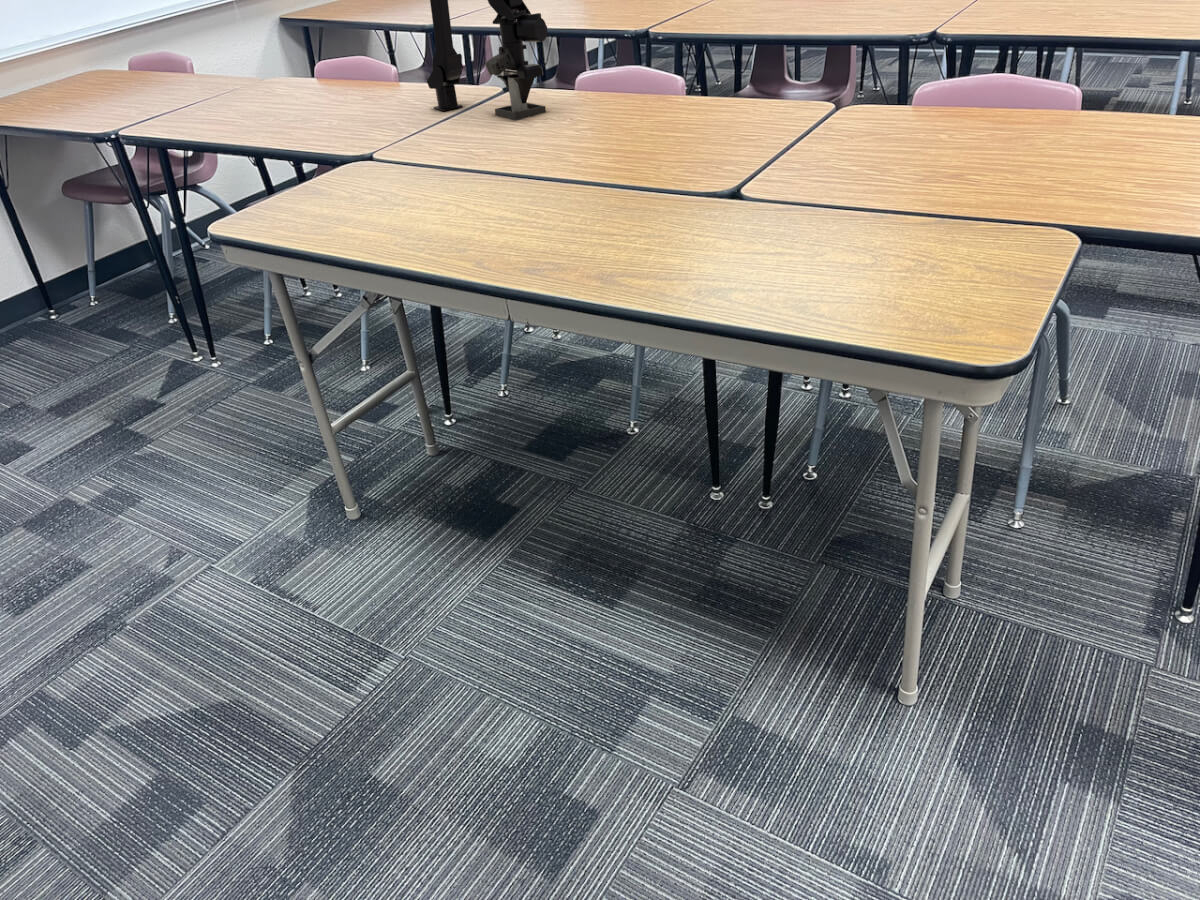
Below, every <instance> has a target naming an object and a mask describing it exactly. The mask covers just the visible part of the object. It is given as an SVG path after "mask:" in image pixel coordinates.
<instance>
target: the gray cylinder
mask: <svg viewBox="0 0 1200 900" xmlns="http://www.w3.org/2000/svg"><path fill="white" fill-rule="evenodd" d="M514 78H519V77H518V75H517V74H512V75H509V76H508V84H509V91H508V93H509V92H510V94H509V101H510V105H511V108H512V112H519V111H524V110H528V108H527V103H528V101H527V102H526V103H522V100H521V96H520V91H519V85H518V83H517V82H516V81H515V80H514Z"/></svg>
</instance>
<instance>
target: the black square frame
mask: <svg viewBox="0 0 1200 900" xmlns="http://www.w3.org/2000/svg"><path fill="white" fill-rule="evenodd" d="M527 108H528V110H524V111H519V112H512V108H511V104H510V105H507V106H501V107H496V108H494V114H495V116H497V117H500V118H504V119H507V120H510V121H520V120H523V119H527V118H530V117H534V116H537V115H540V114H545V113H546V110H547V109H546V105H542V104H536V103H532V102H527Z"/></svg>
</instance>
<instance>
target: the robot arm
mask: <svg viewBox="0 0 1200 900" xmlns="http://www.w3.org/2000/svg"><path fill="white" fill-rule="evenodd" d="M429 2H430V3H429V4H430V10H431V11H430V12H431V19H432V28H433V34H434V44H435V50H434V53H433V57H432V59H431V60H432V71H431V73H430V75H429V76H428V78H427V80H426V83H427V85H428V88H429V89H431V90H432V89H433V90H435V96H436V100H437V102H436V103H437V105H436V106H433V109H434V110H439V111H443V112H445V111H450V110H454V109H459V108H463V104H458V98H457V92H456V85H459V84H460V83H461V75H462V73H463V69H464V65H463V56H462V54H461V53H458V52H457V51H456V49H455V47H454V43H453V33H452V23H451V16H450V7H449V0H429ZM487 2H488V4H489V6H490V7H491V8H492V9H493V10H494V12H495V13H496V15H495V18H494V19H493V20H492V25H499V32H500V40H501V46H499V47H498V54H496V55H494V56H492V57H491V58H490V59H488V60H487V61H486V62H484V65H485V67H486V69H487V72H488V74H489V75H490V76H493V75H494V76H496V77H497V79H500V80H501V81H502V82H503V83H504V85H505V87H506V88H507V91H508V94H509V95H510V92H509V84H508V76H509V75H512V74H517V75H518V77H519V78H514V80H515V81H516V82H517V83H518V85H519V91H520V96H521V100H522V103H526V102H527V103H528V99H529V95H530V91H531V89H532V86H533V83H534V81H535V79H537V78H538V77H542V76H544V71H543V69H544V68H543V67H542V66H541V65H540V64H537V63H530V64H529V61H528V60H526V59H525V58H526V57H525V50H527V44H525V43H542V42H544V41H545V40H546V39H547V36H548V26H547V24H546V21H545V19H544V18H543V17H542V14H541V12H536V13H531V11H530V9H529V7H528V6H527V5H526V3H525V2H524V0H487Z"/></svg>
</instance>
